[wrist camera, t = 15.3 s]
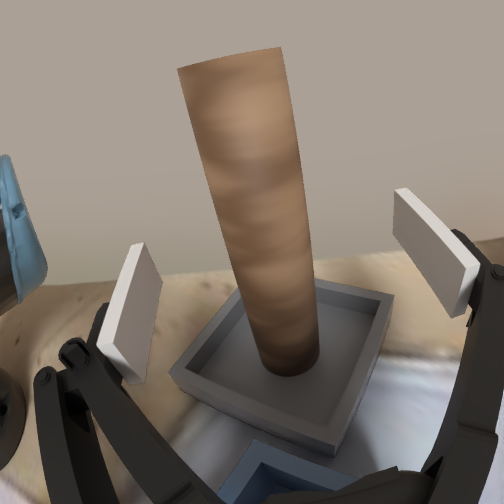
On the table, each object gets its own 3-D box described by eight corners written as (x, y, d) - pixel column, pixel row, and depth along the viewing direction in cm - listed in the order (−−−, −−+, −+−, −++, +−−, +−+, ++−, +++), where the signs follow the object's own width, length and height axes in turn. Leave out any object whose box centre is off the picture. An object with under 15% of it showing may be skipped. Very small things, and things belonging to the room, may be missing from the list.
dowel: (249, 364, 26) (155, 75, 13) (277, 322, 29) (218, 58, 16) (304, 385, 23) (244, 52, 10) (329, 337, 26) (297, 44, 13)
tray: (181, 390, 26) (167, 372, 24) (261, 287, 34) (255, 265, 33) (334, 457, 18) (335, 445, 17) (390, 318, 27) (394, 295, 26)
